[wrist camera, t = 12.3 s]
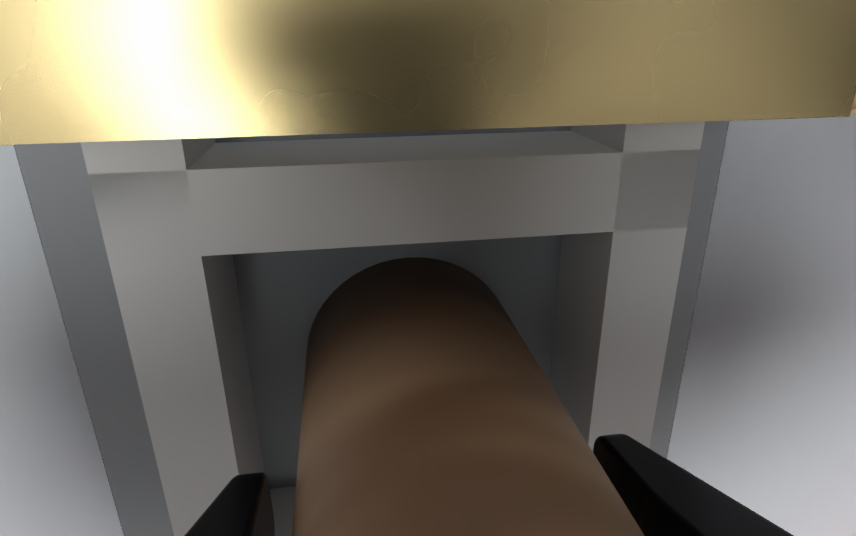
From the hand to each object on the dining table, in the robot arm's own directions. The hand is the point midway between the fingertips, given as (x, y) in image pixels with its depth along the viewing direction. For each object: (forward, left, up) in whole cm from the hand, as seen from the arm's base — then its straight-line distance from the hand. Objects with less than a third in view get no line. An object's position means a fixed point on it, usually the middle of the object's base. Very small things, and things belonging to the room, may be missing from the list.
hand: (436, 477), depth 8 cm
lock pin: (-1, -6, -1) cm, 6 cm away
